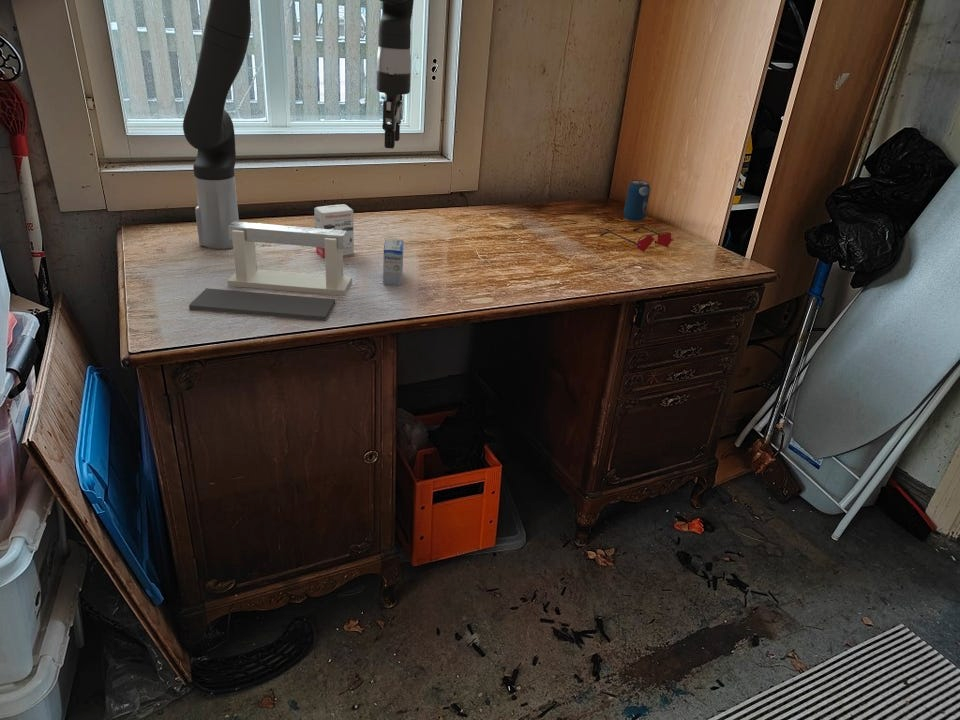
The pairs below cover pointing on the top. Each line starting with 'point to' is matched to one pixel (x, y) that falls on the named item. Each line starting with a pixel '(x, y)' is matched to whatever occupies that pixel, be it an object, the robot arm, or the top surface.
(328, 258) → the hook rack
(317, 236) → the rail
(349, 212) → the ink box
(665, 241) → the glasses
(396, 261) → the medicine box
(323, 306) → the rubber mat
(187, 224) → the top surface
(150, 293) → the top surface
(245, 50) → the robot arm
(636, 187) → the soda can
